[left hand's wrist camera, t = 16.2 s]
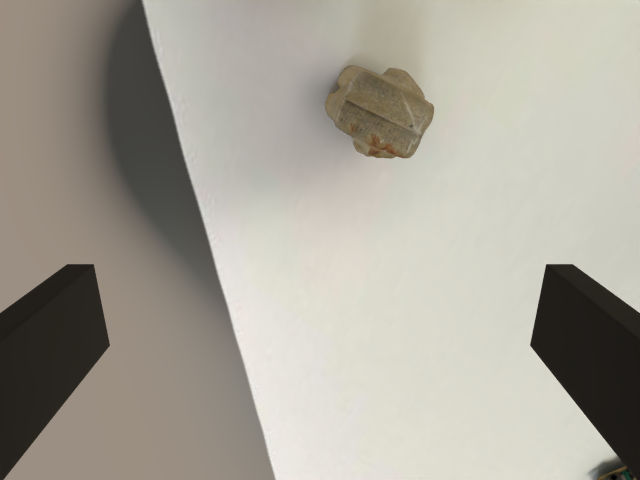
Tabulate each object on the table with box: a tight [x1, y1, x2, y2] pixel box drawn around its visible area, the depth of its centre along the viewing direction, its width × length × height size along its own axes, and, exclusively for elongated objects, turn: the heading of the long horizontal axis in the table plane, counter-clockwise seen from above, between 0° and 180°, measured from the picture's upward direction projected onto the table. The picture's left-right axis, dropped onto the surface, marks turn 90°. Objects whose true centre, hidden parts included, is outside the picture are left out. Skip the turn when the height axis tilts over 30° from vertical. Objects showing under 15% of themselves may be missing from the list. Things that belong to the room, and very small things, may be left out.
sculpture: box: [325, 66, 434, 158], centre depth 30 cm, size 6×7×15 cm
